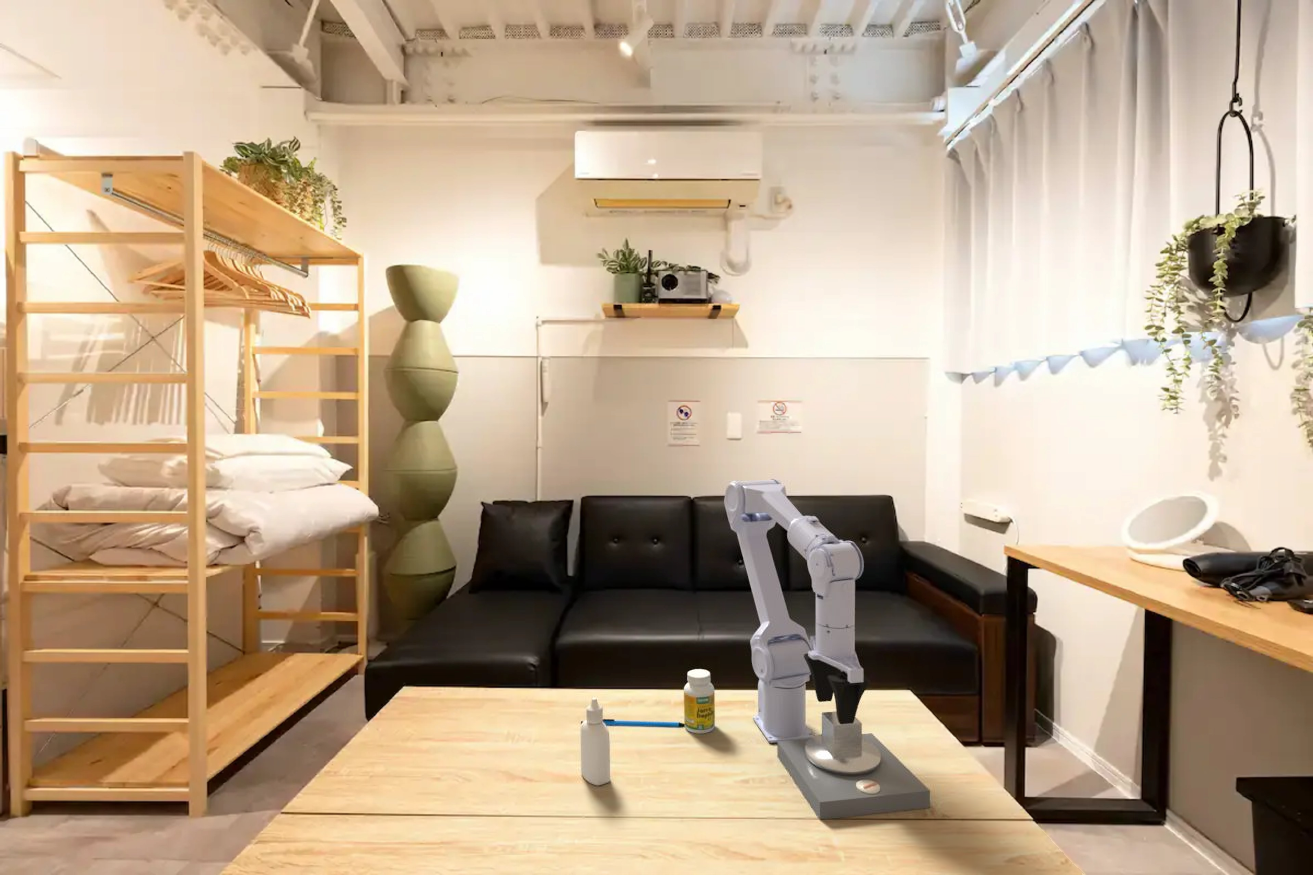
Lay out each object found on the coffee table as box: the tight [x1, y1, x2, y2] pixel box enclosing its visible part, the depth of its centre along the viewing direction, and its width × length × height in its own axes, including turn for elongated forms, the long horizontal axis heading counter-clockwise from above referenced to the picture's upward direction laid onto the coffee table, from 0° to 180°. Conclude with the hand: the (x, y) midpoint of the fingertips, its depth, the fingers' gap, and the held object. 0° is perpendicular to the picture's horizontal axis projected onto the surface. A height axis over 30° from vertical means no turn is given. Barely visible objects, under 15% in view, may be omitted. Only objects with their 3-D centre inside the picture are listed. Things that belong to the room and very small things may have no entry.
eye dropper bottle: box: [580, 697, 611, 786], centre depth 101 cm, size 4×6×12 cm
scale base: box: [776, 732, 931, 821], centre depth 100 cm, size 17×16×3 cm
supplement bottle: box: [683, 668, 716, 735], centre depth 117 cm, size 5×5×10 cm
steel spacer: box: [821, 710, 863, 759], centre depth 102 cm, size 4×4×5 cm
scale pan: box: [805, 733, 881, 775], centre depth 102 cm, size 11×11×1 cm
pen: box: [580, 718, 685, 728], centre depth 119 cm, size 1×19×1 cm, turn 85°
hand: (834, 711), depth 102 cm, fingers open, 7 cm apart
